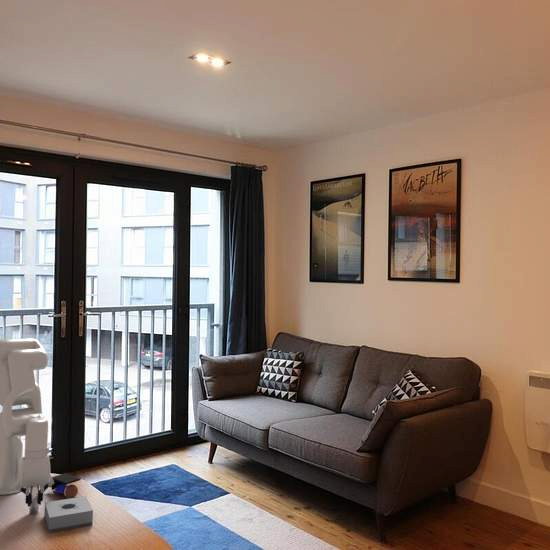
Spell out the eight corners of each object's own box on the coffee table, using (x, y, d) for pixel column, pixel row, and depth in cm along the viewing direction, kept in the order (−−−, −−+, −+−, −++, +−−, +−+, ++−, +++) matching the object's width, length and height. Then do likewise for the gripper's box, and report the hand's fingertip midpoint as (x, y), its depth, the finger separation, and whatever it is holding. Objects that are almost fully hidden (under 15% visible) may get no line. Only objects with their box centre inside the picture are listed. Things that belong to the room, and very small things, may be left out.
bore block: (44, 516, 195) (44, 502, 195) (85, 509, 202) (85, 496, 202) (49, 532, 183) (49, 517, 183) (92, 524, 189) (92, 510, 189)
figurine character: (45, 495, 218) (66, 501, 208) (45, 475, 218) (66, 480, 209) (61, 491, 223) (82, 496, 214) (61, 471, 224) (82, 476, 214)
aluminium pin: (28, 512, 198) (30, 481, 199) (37, 510, 200) (39, 480, 200) (29, 515, 196) (30, 484, 196) (38, 513, 197) (39, 482, 197)
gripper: (58, 447, 205) (56, 497, 205) (10, 453, 198) (8, 504, 197) (61, 453, 199) (59, 504, 198) (11, 459, 191) (9, 512, 191)
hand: (34, 503), depth 198 cm, fingers closed on aluminium pin, 3 cm apart
